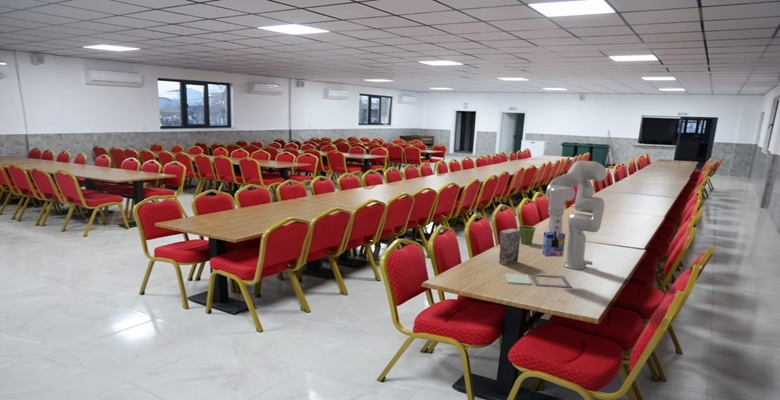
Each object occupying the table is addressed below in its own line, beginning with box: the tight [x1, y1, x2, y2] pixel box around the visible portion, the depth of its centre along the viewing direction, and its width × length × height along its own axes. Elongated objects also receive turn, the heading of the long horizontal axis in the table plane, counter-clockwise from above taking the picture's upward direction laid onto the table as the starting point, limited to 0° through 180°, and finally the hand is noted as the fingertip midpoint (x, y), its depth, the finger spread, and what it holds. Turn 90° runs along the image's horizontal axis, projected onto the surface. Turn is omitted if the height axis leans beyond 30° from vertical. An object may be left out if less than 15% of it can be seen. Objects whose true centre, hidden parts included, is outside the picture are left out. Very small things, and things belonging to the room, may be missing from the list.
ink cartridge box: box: [542, 231, 566, 258], centre depth 249 cm, size 10×6×14 cm, turn 95°
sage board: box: [504, 273, 533, 286], centre depth 253 cm, size 12×14×1 cm
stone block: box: [498, 228, 521, 266], centre depth 282 cm, size 13×7×20 cm, turn 135°
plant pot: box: [518, 225, 537, 245], centre depth 330 cm, size 12×12×11 cm
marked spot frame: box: [529, 273, 573, 289], centre depth 253 cm, size 18×18×1 cm
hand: (553, 245), depth 250 cm, fingers closed on ink cartridge box, 6 cm apart
